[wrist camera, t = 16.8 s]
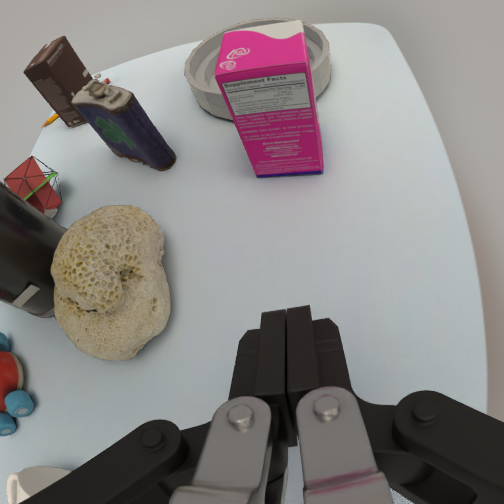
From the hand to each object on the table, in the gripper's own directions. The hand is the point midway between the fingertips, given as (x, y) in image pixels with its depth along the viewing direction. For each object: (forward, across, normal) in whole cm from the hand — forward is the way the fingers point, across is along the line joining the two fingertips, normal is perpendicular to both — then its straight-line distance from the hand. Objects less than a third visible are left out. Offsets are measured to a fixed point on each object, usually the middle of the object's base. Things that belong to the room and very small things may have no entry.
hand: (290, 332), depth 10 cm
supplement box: (+21, -1, -4) cm, 21 cm away
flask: (+24, +13, -7) cm, 28 cm away
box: (+33, +24, -16) cm, 44 cm away
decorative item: (+13, +14, +4) cm, 20 cm away
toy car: (+7, +31, +10) cm, 33 cm away
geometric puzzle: (+17, +28, -10) cm, 34 cm away
